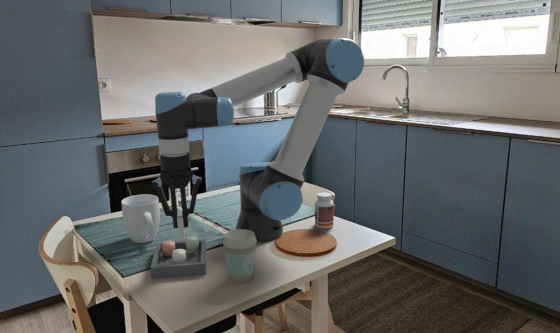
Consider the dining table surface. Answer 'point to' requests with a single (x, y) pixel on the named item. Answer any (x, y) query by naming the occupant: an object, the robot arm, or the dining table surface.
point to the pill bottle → (324, 211)
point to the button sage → (192, 244)
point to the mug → (141, 217)
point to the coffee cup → (240, 254)
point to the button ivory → (179, 256)
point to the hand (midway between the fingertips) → (182, 238)
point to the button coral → (168, 248)
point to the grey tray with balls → (166, 268)
